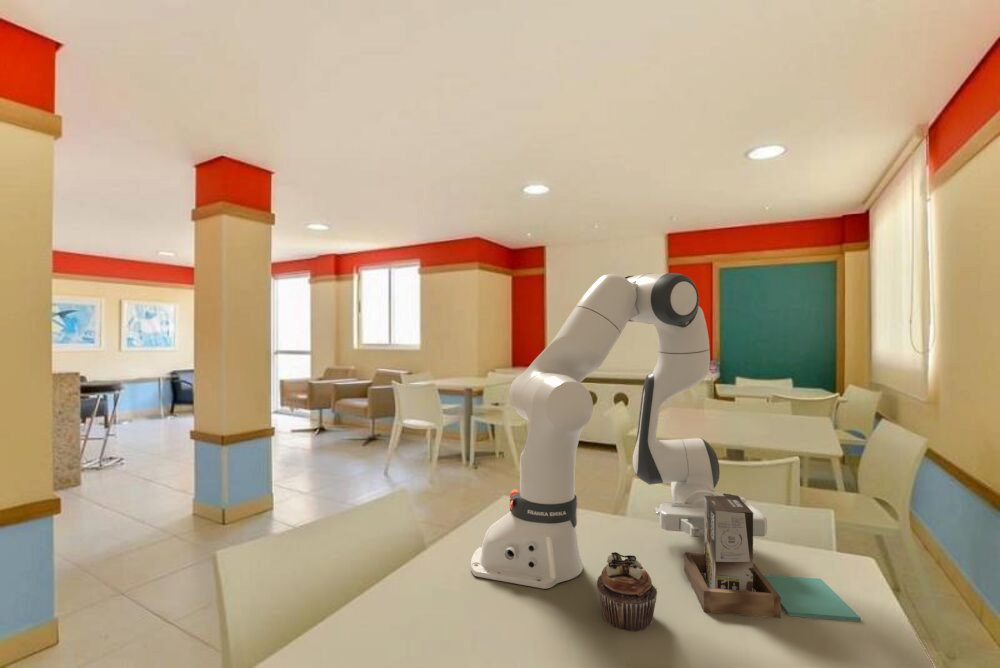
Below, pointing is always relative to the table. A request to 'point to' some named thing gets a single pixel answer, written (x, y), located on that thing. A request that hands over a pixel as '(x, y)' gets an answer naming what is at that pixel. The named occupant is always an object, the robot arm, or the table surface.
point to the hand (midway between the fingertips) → (721, 534)
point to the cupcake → (626, 593)
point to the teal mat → (810, 598)
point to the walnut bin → (732, 592)
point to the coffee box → (728, 543)
